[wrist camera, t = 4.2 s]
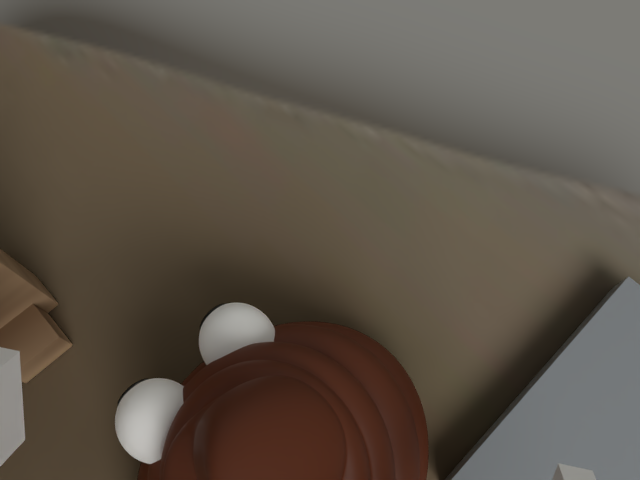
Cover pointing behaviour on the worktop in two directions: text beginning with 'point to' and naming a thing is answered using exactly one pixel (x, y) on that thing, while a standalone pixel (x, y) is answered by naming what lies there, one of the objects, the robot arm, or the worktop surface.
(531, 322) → the worktop surface
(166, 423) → the poop emoji
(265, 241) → the worktop surface
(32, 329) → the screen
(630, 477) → the board
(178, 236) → the worktop surface
